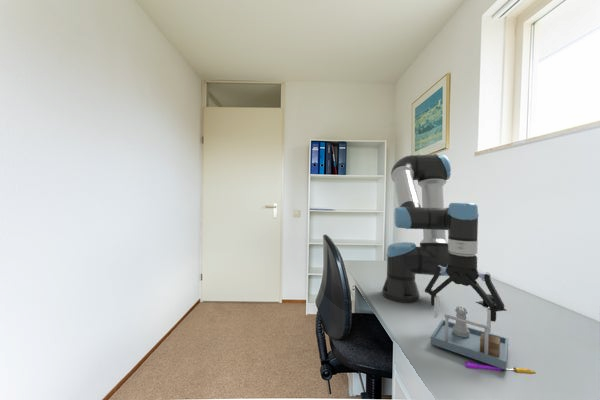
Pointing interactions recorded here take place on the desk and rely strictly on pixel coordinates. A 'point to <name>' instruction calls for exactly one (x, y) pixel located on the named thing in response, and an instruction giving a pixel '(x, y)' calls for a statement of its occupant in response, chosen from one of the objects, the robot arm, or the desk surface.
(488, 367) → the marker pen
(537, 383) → the desk surface
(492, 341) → the walnut block
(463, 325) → the rook chess piece
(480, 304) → the black piece
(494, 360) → the tray
